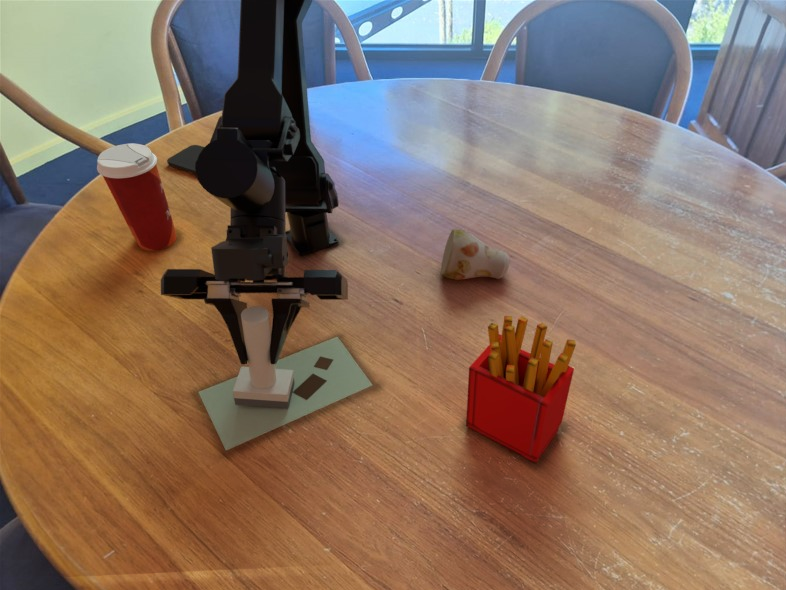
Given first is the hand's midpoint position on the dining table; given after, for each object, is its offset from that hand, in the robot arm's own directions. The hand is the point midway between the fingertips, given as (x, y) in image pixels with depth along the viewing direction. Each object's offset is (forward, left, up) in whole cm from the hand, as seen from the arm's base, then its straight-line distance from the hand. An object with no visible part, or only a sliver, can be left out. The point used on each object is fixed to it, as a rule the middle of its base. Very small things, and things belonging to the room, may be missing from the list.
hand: (258, 364), depth 68 cm
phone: (-57, +11, -7) cm, 59 cm away
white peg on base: (-1, 0, -6) cm, 6 cm away
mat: (-1, +2, -7) cm, 8 cm away
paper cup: (-40, -3, -7) cm, 41 cm away
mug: (-8, +34, -7) cm, 36 cm away
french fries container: (+18, +22, -7) cm, 29 cm away
